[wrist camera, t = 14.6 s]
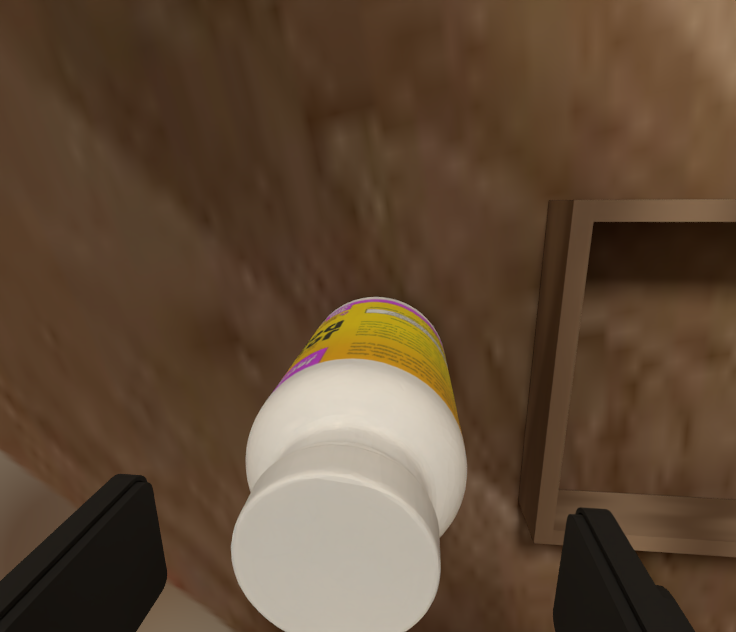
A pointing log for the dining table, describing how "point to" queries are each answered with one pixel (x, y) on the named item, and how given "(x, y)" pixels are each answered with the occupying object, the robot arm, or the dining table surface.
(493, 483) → the dining table surface
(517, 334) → the dining table surface
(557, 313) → the crate
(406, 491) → the supplement bottle
